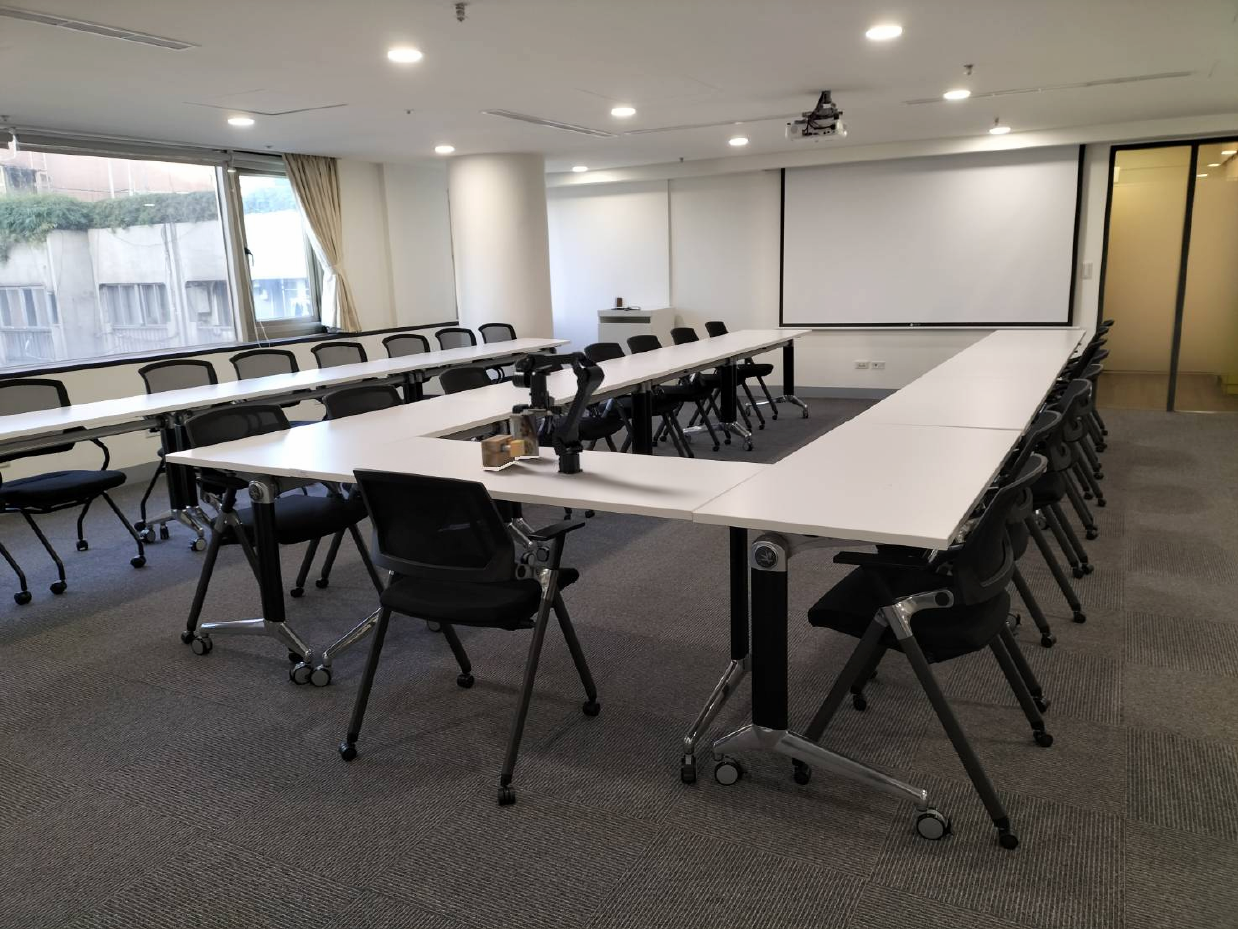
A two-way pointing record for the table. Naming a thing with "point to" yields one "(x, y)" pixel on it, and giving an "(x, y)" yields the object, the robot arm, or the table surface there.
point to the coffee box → (525, 434)
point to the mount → (496, 451)
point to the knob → (515, 448)
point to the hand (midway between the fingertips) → (541, 433)
